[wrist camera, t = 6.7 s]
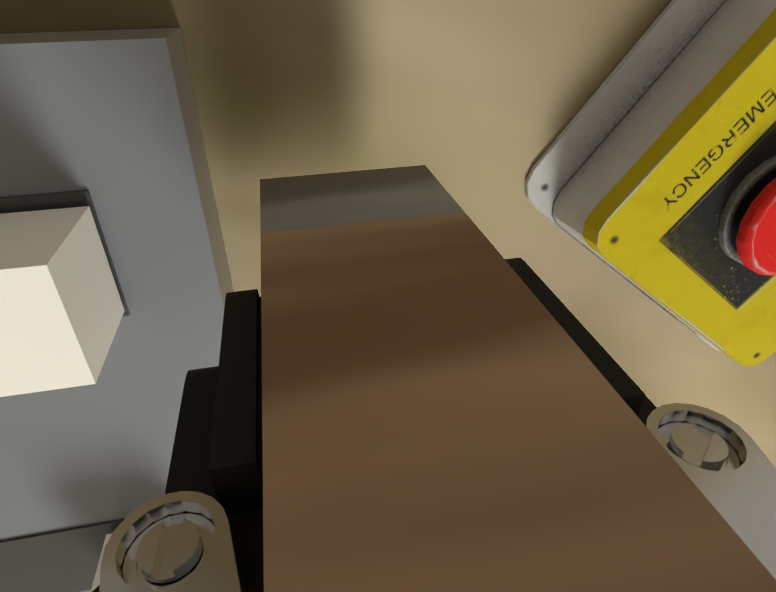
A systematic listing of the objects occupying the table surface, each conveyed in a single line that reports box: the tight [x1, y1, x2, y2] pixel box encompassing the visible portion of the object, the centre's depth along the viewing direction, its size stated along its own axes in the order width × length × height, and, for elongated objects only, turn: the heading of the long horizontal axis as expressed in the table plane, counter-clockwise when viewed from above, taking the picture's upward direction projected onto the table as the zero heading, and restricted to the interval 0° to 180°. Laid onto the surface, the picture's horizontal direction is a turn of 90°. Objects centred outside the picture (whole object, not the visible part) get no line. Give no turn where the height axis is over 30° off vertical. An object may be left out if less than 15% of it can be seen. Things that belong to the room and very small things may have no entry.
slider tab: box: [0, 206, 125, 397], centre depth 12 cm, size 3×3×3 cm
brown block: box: [260, 165, 776, 592], centre depth 9 cm, size 4×4×12 cm
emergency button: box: [525, 0, 776, 366], centre depth 18 cm, size 9×4×15 cm
